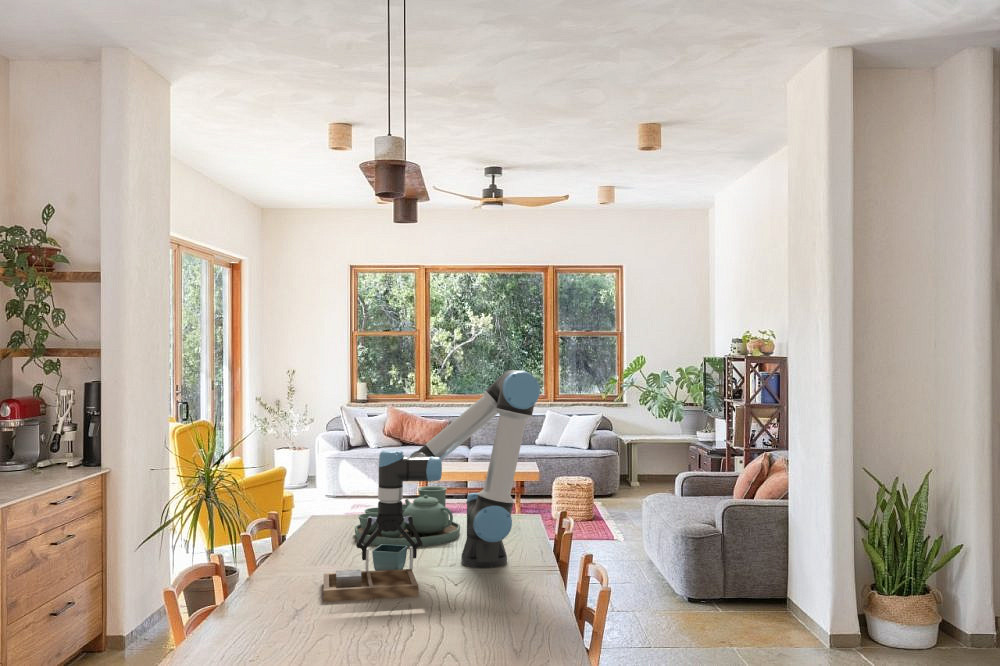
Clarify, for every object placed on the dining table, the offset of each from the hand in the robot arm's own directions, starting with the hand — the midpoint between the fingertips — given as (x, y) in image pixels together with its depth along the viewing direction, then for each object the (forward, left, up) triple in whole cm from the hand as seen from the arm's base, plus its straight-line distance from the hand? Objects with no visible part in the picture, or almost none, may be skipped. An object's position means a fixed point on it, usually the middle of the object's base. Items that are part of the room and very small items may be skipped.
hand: (389, 569), depth 256 cm
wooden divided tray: (+7, +16, -2) cm, 18 cm away
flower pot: (0, 0, -2) cm, 2 cm away
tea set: (-11, -57, -3) cm, 58 cm away
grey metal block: (+13, +16, -1) cm, 21 cm away
